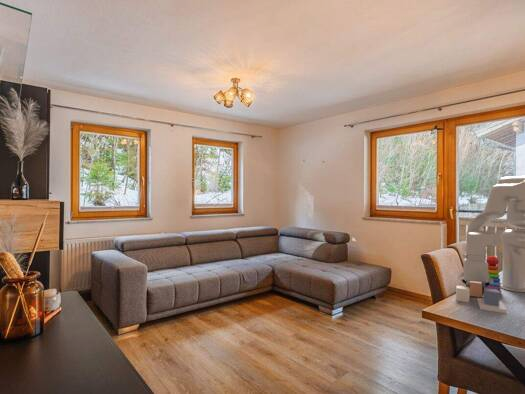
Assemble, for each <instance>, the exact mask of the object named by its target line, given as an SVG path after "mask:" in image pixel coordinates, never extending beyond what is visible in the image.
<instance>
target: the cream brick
mask: <svg viewBox="0 0 525 394" xmlns="http://www.w3.org/2000/svg"><path fill="white" fill-rule="evenodd" d="M455 287H456V288H455V300H456V301H457V302H463V303H470V295H469V293H470V290H469V287H466V285H465V286H463V285H457V284H456V286H455Z"/></svg>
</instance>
